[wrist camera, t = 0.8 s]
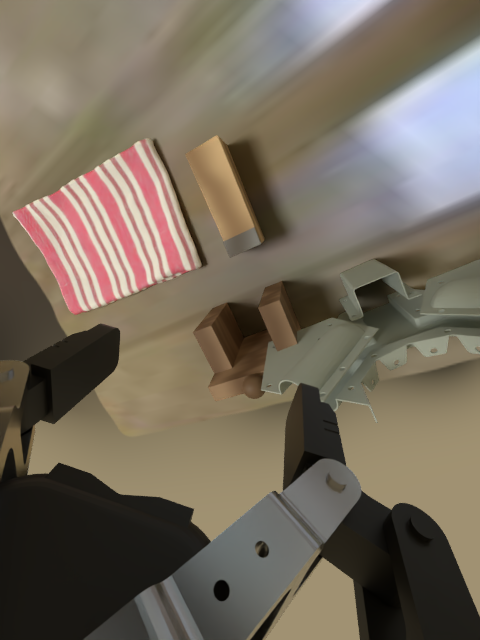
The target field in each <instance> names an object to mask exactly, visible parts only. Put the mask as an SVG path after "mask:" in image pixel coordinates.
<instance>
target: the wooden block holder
mask: <svg viewBox="0 0 480 640" xmlns="http://www.w3.org/2000/svg"><path fill="white" fill-rule="evenodd" d="M258 309H259V311H260V313H261V316H262V318H263V320H264V322H265V325H266V327H267V329H268V330H265V331H262V332H259V333H256V334H253V335H250V336H247V337H243V335H242V333H241V331H240V329H239V327H238V324H237V322H236V320H235V318H234V316H233V314H232V312H231V310H230V307H229V305H228V303H225V304H223V305H220V306H217V307H215V308H212V310H211V311H210V312H209V313H208V315H207V316H206V317H205V318H204V319H203V321H202V322H201V323H200V324H199V326H198V327H197V328H196V329H195V331H194V332H193V333H194V335H195V337H196V339H197V341H198V343H199V345H200V347H201V349H202V351H203V352H204V354H205V356H206V358H207V360H208V362H209V364H210V366H211V368H212V370H213V372H214V373H215V374H214V376H213V378H212V380H211V382H210V385H209V387H208V388H209V390H210V392H211V394H212V396H213V398H214V399H215V401H219V400H222V399H226V398H229V397H233V396H237V395H240V394H245V395H246V396H247V397H249V398H252V399H256V398H259V397H261V396H262V395H263V394H264V393H265V391H262V390H261V386H262V380H263V374H264V367H265V361H266V355H267V349H268V342H271V341H273V343H274V345H275V347H276V350H277V351H280V350H283V349H285V348H288V347H291V346H293V345H296V344H297V331H299V330H301V328H300V325H299V323H298V320H297V318H296V315H295V313H294V310H293V308H292V305H291V303H290V300H289V298H288V295H287V293H286V290H285V288H284V285H283V283H282V281H281V282H278V283H276V284H273V285H271V286H268V287H266V288H265V289H264V292H263V295H262V298H261V301H260V304H259V307H258ZM275 347H273V348H275ZM269 386H271V385H269ZM269 386H267V387H269Z"/></svg>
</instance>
